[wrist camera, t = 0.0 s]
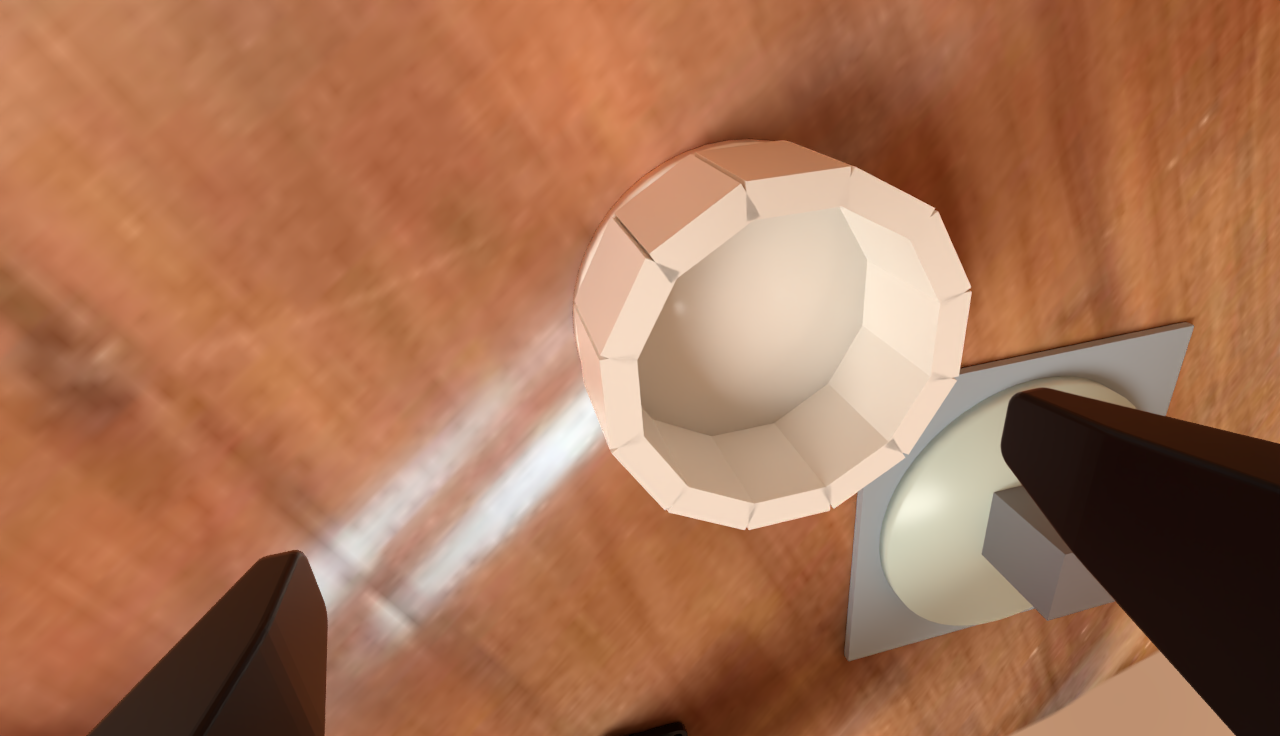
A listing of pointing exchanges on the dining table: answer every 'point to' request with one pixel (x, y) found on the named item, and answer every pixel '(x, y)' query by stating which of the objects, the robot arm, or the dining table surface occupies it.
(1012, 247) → the dining table surface
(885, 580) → the mat
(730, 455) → the bowl
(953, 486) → the cover
